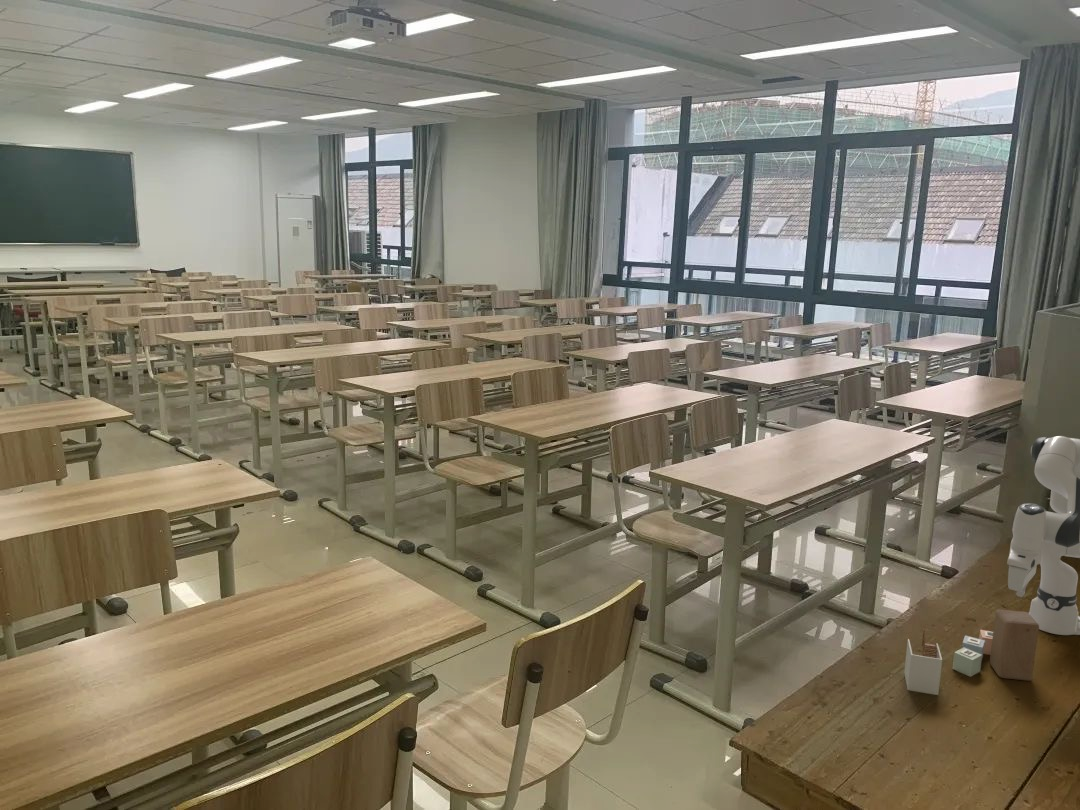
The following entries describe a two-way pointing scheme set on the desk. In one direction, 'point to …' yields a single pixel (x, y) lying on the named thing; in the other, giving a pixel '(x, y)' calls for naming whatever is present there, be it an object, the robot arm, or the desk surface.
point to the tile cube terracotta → (986, 640)
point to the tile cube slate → (974, 644)
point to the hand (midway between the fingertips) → (1020, 595)
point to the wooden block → (1014, 644)
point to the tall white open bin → (923, 669)
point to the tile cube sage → (967, 661)
